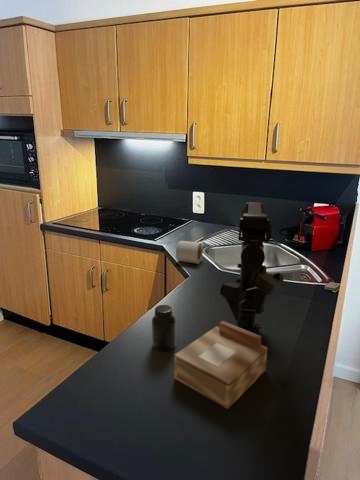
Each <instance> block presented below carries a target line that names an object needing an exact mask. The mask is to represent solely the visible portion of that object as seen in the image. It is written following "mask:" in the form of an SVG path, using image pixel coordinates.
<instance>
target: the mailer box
mask: <svg viewBox="0 0 360 480" xmlns="http://www.w3.org/2000/svg"><path fill="white" fill-rule="evenodd" d="M267 357H268V350H266V351H265V352H264V353H263V354H262V355H261V356H260V357H259V358H258V359H257V360H256V361H255V362H254V363H253V364H251V365H250V366H249V367H248V368H247V369H246V370H245V371H244V372H243V373H242V374H241V375H240V376H239V377H238V378H237V379H236V380H234V381H233V382H232V383H231V384H230V385H227V384H226V383H224V382H222V381H220V380H218V379H216V378H214V377H212V376H210V375H208V374H207V373H205V372H203V371H201V370H199V369H197V368H195V367H193V366H191V365H189V364H188V363H186V362H184V361H182V360H180V359H178V358H176V357H175V356H174V375H173V376H174V379H175V381H176V380H177V382H180V383H182V384H184V386H187V387H189V388H191V389H192V390H193V391H195V392H197V393H199V394H201V395H202V396H204V397H205V398H208V399H210V400H211V401H213V402H215V403H216V404H218V405H220V406H222V407H223V408H225V409H227V410H228V409H230V408H231V406H233V404H234V403H235V402H236V401H237V400H238V399H240V397H241V396H242V395H243V394H244V393H245V392H246V391H247V390H248V389H249V388H250V387H251V386H253V384H254V383H255V382H256V381H257V380H258V379H259V378H260V377H261V376H262V375H263V374H264V373H265V372H266V367H267Z"/></svg>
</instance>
